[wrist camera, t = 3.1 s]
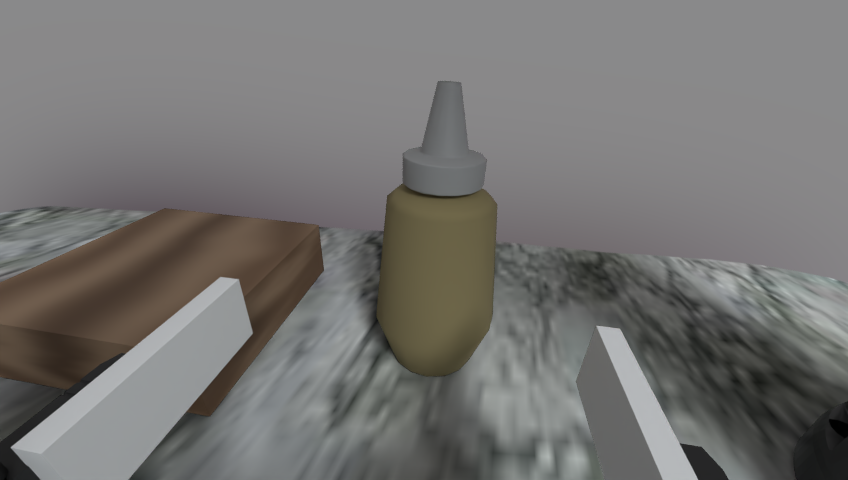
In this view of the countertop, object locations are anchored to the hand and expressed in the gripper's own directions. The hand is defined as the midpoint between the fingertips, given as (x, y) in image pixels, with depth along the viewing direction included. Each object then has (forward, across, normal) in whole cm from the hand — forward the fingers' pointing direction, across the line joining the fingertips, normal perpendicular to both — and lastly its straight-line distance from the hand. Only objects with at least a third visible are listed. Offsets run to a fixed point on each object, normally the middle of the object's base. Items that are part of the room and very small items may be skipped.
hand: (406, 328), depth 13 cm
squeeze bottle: (+9, 0, -10) cm, 14 cm away
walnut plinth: (+9, -20, -10) cm, 24 cm away
